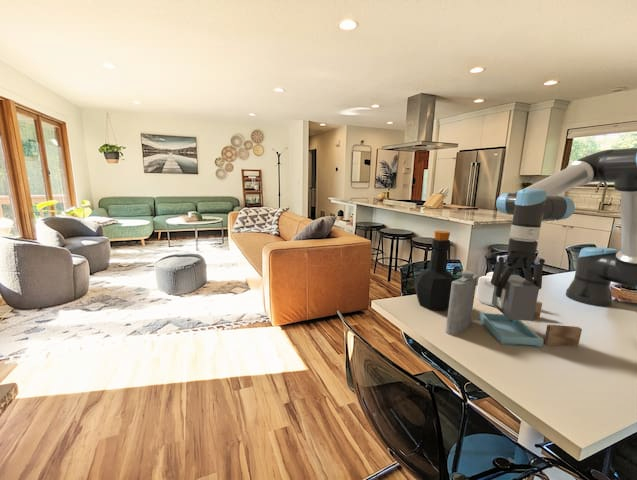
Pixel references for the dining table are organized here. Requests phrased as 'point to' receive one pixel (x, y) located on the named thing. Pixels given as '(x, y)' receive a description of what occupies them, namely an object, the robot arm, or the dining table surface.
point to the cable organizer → (485, 289)
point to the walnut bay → (559, 332)
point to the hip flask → (461, 303)
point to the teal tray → (510, 330)
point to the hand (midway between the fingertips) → (511, 307)
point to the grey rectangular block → (518, 299)
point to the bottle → (436, 276)
